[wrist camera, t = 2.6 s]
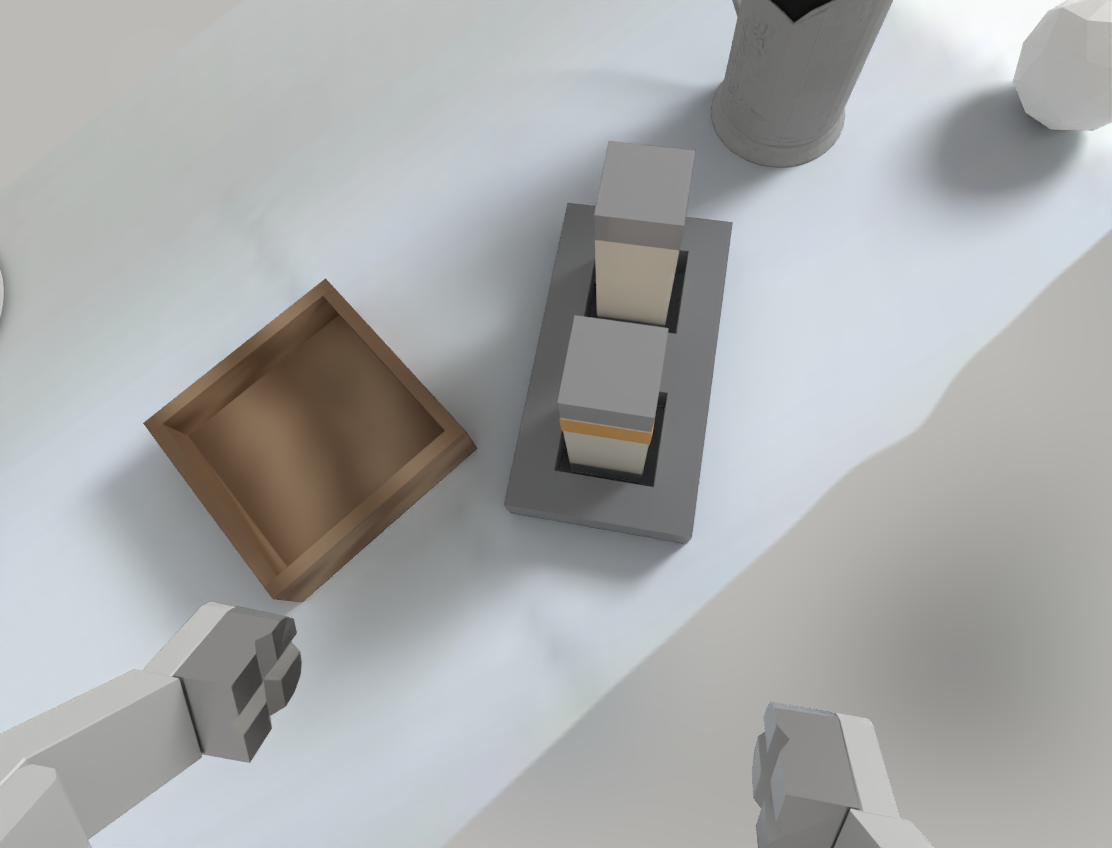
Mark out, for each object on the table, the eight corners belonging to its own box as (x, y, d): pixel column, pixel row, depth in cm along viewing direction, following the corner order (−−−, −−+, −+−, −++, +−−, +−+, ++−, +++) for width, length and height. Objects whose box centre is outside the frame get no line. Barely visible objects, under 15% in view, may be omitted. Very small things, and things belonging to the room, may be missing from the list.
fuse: (662, 339, 41) (683, 225, 30) (597, 330, 42) (594, 214, 30) (671, 281, 42) (695, 150, 31) (607, 273, 43) (608, 141, 31)
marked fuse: (641, 483, 39) (655, 419, 27) (570, 471, 39) (556, 403, 28) (651, 415, 40) (669, 327, 28) (582, 405, 40) (573, 313, 29)
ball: (1019, 111, 47) (1096, -23, 43) (1139, 152, 43) (1241, 5, 38) (963, 107, 43) (1041, -42, 39) (1088, 151, 39) (1195, -11, 34)
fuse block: (686, 543, 37) (691, 537, 35) (510, 512, 39) (504, 504, 36) (725, 245, 43) (732, 222, 40) (569, 226, 44) (567, 202, 42)
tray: (302, 602, 38) (273, 598, 35) (180, 440, 41) (143, 423, 38) (477, 448, 40) (465, 431, 37) (347, 305, 43) (325, 278, 40)
